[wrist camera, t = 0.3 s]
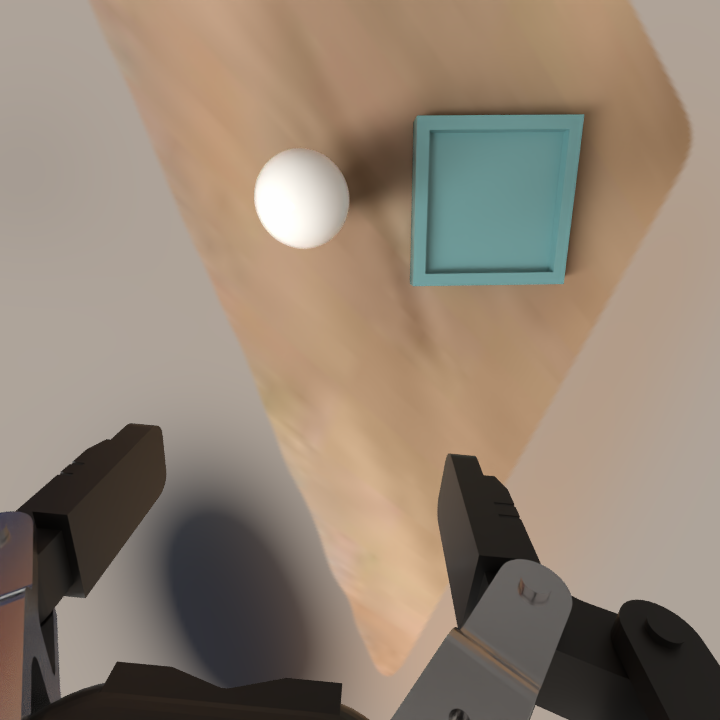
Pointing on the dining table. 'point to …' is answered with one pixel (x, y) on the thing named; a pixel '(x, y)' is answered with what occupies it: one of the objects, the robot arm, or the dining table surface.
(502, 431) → the dining table surface
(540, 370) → the dining table surface
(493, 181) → the tray
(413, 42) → the dining table surface
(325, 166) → the lightbulb
